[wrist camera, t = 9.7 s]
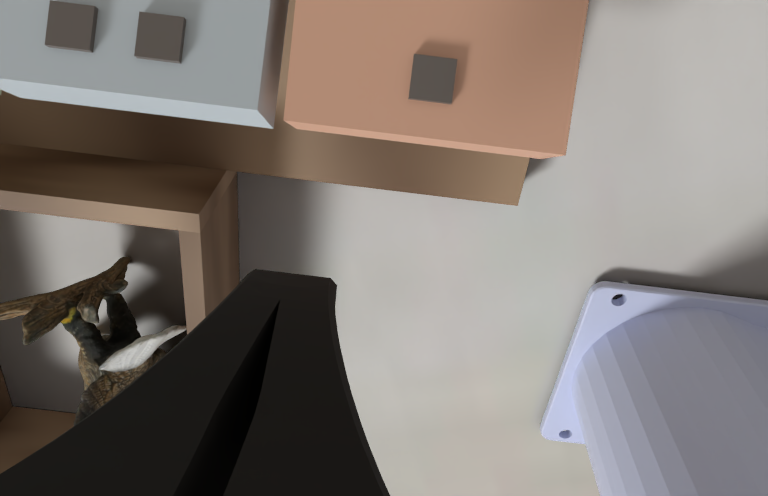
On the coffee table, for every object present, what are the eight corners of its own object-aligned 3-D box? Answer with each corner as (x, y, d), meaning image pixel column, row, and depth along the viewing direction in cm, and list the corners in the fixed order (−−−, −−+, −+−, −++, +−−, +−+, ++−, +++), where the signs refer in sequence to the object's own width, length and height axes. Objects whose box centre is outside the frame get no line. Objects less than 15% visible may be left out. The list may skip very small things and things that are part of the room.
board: (631, -291, 14) (702, -343, 10) (443, 464, 27) (446, 548, 24) (-273, -414, 13) (-512, -510, 10) (-1, 413, 27) (-61, 491, 24)
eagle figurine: (-43, 276, 22) (31, 476, 25) (-68, 362, 16) (33, 610, 19) (175, 227, 25) (215, 409, 28) (222, 283, 19) (265, 506, 22)
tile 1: (578, -98, 14) (613, -148, 12) (541, 159, 15) (568, 154, 13) (323, -132, 14) (313, -188, 12) (296, 129, 15) (282, 119, 13)
